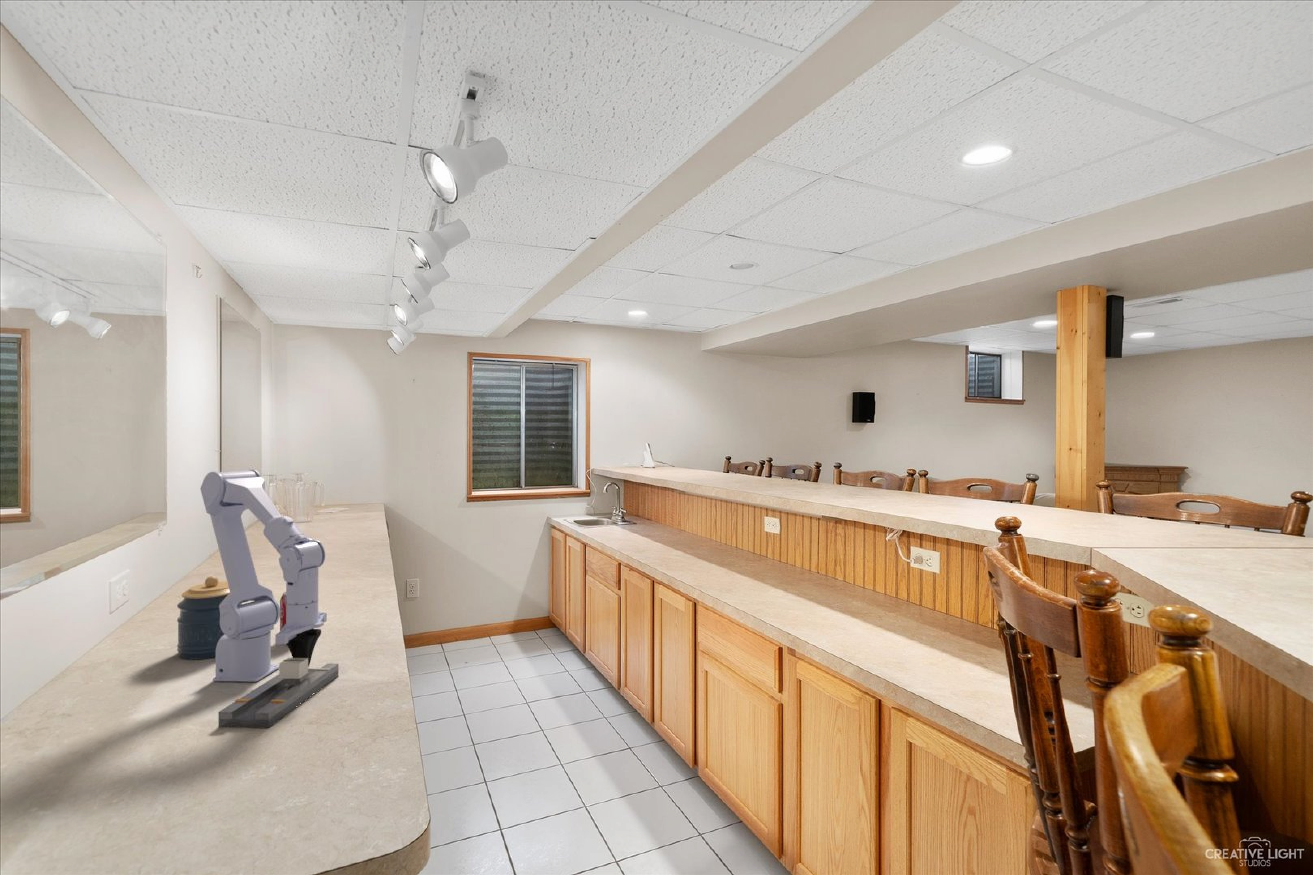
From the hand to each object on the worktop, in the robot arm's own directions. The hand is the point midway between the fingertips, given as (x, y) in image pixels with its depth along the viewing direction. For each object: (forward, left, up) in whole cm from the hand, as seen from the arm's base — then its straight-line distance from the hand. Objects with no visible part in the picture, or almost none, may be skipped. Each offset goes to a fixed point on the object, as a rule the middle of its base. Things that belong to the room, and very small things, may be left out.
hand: (302, 667), depth 127 cm
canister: (-34, +20, -4) cm, 39 cm away
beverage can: (-19, +28, -4) cm, 33 cm away
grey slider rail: (0, -6, -4) cm, 7 cm away
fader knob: (0, -3, -2) cm, 4 cm away
